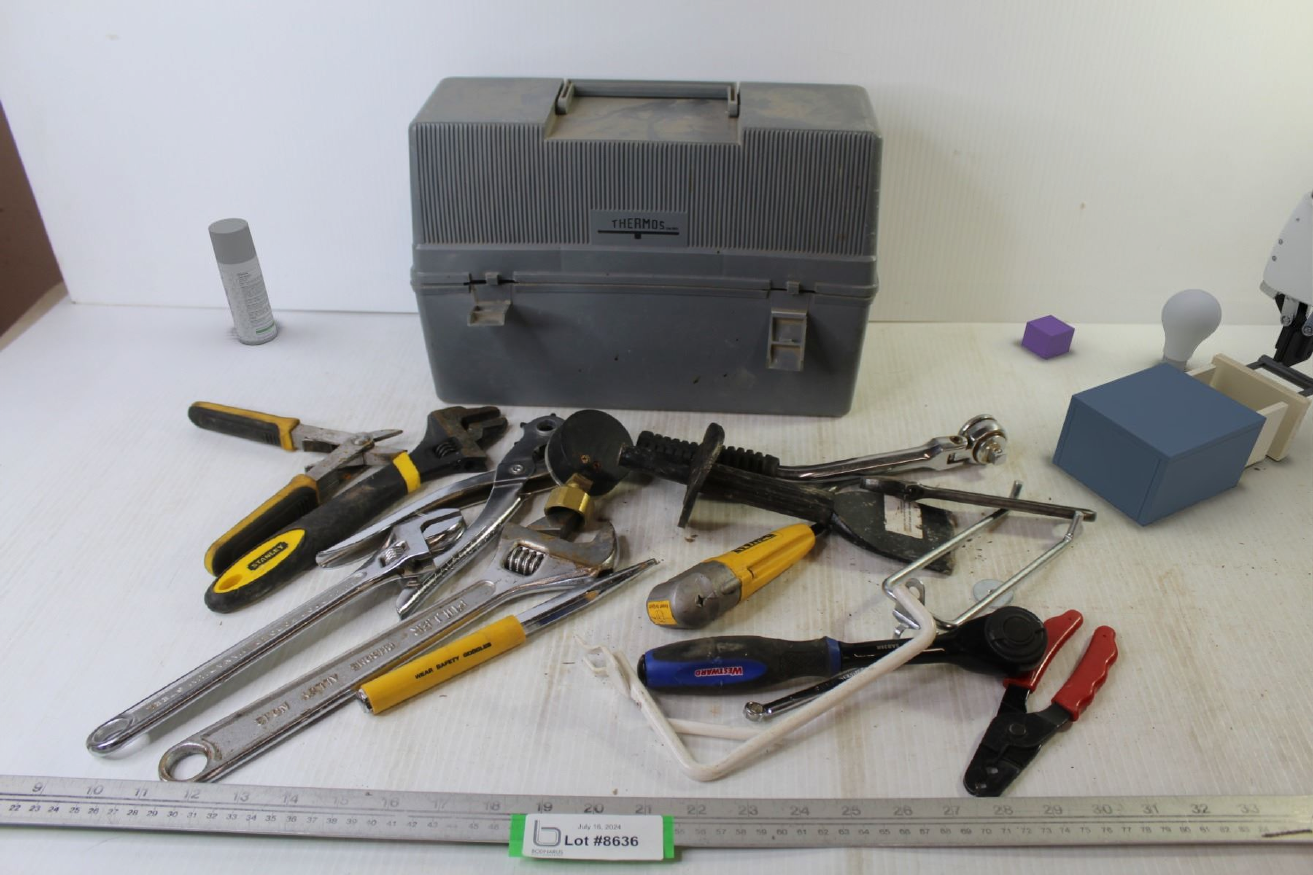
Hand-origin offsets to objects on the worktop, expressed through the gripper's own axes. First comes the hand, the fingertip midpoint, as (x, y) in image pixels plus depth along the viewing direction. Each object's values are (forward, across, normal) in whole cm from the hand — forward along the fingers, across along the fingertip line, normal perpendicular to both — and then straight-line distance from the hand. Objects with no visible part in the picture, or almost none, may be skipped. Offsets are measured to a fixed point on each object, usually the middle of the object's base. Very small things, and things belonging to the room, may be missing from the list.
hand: (1288, 360), depth 101 cm
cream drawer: (+8, 0, +6) cm, 10 cm away
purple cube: (+9, +24, +8) cm, 26 cm away
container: (+7, +73, +94) cm, 119 cm away
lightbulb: (+10, +13, -2) cm, 16 cm away
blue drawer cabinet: (+9, 0, +18) cm, 20 cm away
